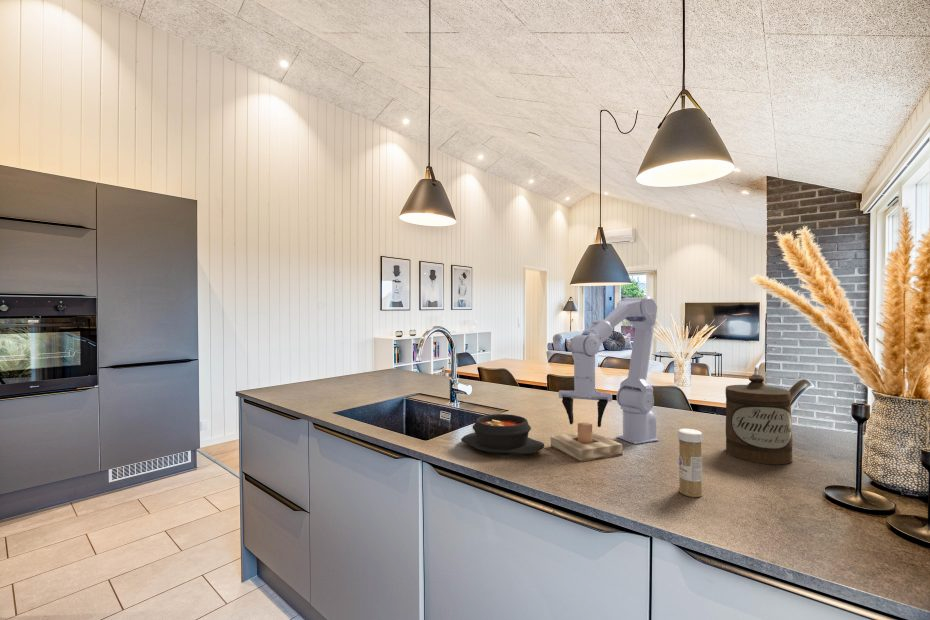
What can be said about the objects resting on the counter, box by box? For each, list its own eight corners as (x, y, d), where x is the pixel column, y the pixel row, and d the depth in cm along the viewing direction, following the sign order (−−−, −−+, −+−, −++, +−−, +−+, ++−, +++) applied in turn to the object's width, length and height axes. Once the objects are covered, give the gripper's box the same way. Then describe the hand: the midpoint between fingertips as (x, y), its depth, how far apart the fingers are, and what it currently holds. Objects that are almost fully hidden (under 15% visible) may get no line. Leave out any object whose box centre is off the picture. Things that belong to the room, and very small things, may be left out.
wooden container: (736, 462, 109) (734, 377, 109) (719, 445, 123) (718, 370, 123) (803, 467, 104) (802, 379, 105) (778, 449, 118) (777, 372, 119)
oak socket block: (589, 441, 127) (589, 431, 127) (622, 455, 114) (622, 444, 114) (550, 446, 122) (550, 436, 122) (580, 461, 109) (580, 450, 109)
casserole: (554, 447, 122) (554, 418, 122) (527, 466, 106) (526, 433, 106) (481, 434, 136) (481, 408, 136) (448, 449, 120) (447, 420, 120)
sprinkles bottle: (674, 489, 92) (673, 428, 92) (693, 488, 92) (693, 427, 92) (687, 498, 87) (686, 434, 87) (708, 497, 87) (707, 433, 88)
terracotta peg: (586, 446, 121) (585, 421, 121) (595, 450, 117) (595, 425, 117) (575, 447, 119) (574, 423, 119) (584, 452, 116) (583, 426, 116)
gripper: (556, 377, 118) (556, 425, 118) (610, 380, 112) (611, 431, 112) (561, 374, 124) (561, 419, 124) (612, 376, 118) (613, 424, 118)
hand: (585, 424), depth 118 cm, fingers open, 7 cm apart
